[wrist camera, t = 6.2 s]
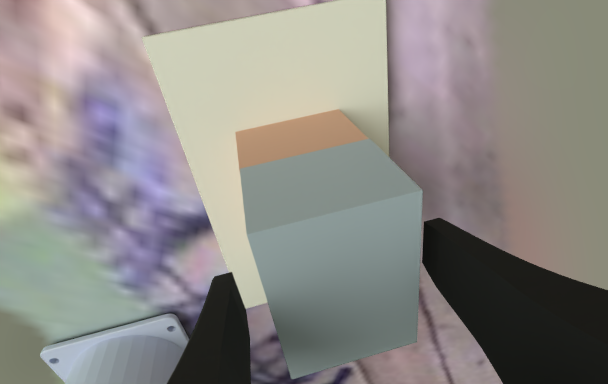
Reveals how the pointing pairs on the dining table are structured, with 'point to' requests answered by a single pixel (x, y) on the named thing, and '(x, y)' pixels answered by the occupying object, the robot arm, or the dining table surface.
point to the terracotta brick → (295, 137)
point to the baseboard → (267, 96)
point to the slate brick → (336, 252)
